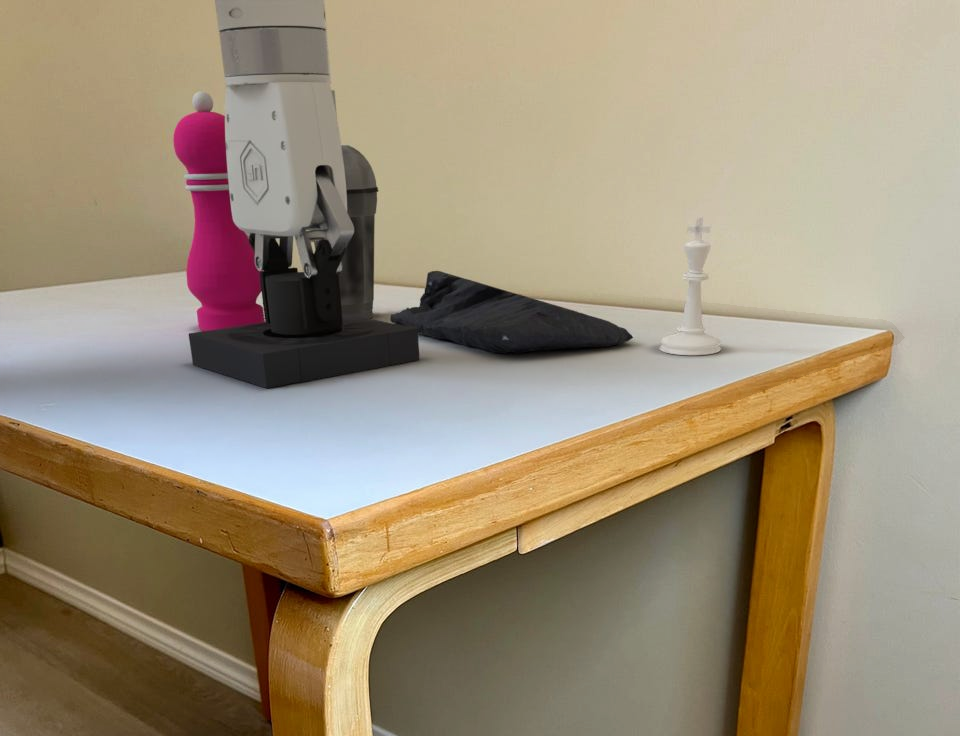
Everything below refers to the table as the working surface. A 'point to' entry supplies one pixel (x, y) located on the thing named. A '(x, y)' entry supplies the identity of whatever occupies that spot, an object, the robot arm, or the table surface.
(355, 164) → the beverage cup
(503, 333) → the black fabric pouch
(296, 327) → the dark gray cylinder
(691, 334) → the chess piece
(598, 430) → the table surface
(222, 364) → the base pad
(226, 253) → the pepper mill
